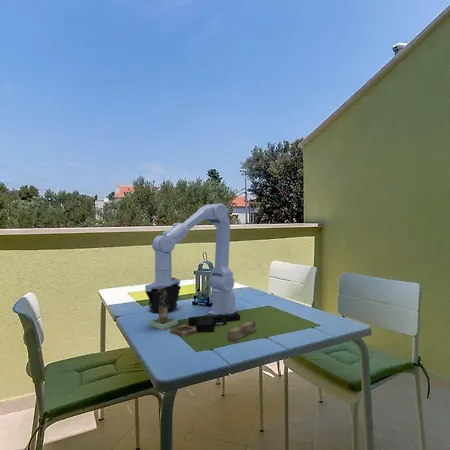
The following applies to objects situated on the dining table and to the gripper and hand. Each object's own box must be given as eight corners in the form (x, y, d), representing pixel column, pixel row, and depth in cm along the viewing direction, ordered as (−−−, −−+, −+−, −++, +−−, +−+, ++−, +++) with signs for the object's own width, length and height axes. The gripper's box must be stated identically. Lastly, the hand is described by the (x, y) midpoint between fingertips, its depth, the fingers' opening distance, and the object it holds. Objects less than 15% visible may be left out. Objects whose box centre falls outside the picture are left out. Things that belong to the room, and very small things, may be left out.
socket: (184, 328, 109) (184, 324, 109) (198, 331, 105) (198, 328, 105) (169, 333, 104) (169, 329, 104) (184, 337, 100) (184, 333, 100)
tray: (164, 321, 116) (164, 316, 116) (177, 325, 112) (177, 319, 112) (149, 326, 110) (149, 321, 110) (162, 330, 106) (162, 324, 106)
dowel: (169, 324, 111) (169, 307, 111) (162, 326, 109) (162, 309, 109) (163, 322, 113) (163, 305, 113) (157, 324, 111) (157, 307, 111)
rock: (165, 307, 141) (190, 306, 133) (143, 315, 131) (169, 314, 122) (161, 276, 143) (185, 272, 134) (138, 280, 132) (163, 277, 124)
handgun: (250, 328, 110) (236, 318, 121) (250, 319, 110) (236, 310, 121) (197, 334, 102) (187, 324, 113) (197, 325, 102) (187, 315, 114)
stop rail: (250, 329, 107) (250, 320, 107) (255, 330, 106) (255, 321, 106) (227, 340, 97) (227, 331, 97) (232, 342, 96) (232, 332, 96)
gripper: (170, 266, 119) (171, 302, 119) (139, 271, 108) (139, 311, 108) (184, 267, 115) (184, 305, 115) (153, 273, 103) (153, 314, 103)
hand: (163, 308), depth 111 cm, fingers open, 7 cm apart
